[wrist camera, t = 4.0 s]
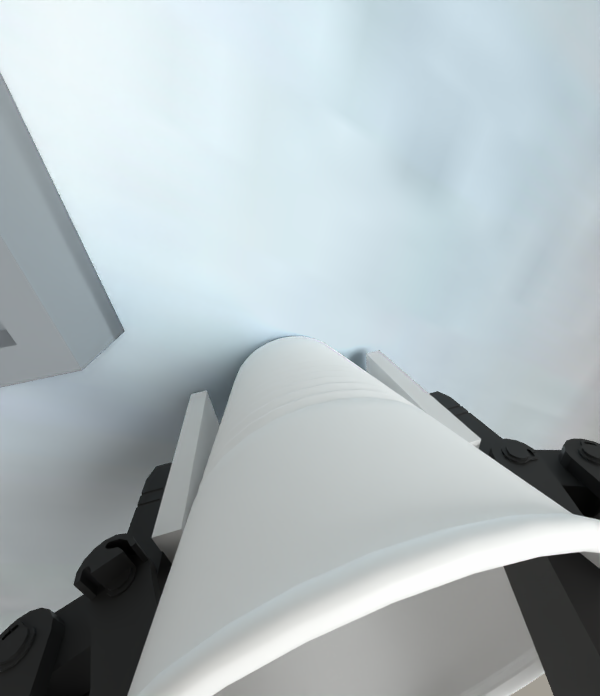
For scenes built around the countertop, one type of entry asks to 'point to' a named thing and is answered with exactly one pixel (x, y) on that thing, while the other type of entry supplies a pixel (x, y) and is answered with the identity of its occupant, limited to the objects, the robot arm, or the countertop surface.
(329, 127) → the countertop surface
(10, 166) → the tray
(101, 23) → the countertop surface
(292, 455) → the cup
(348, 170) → the countertop surface
